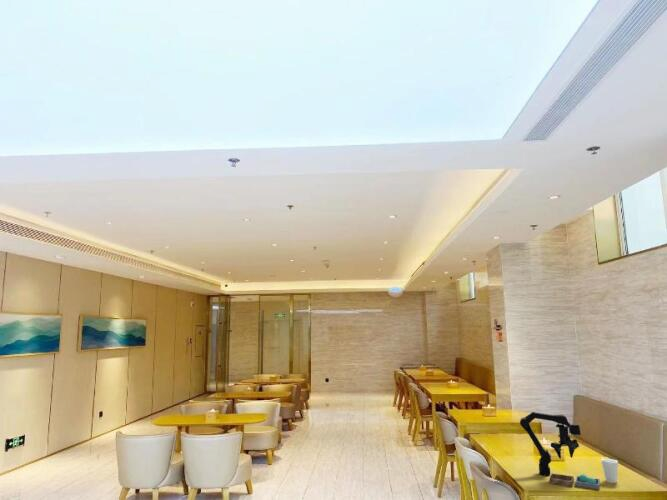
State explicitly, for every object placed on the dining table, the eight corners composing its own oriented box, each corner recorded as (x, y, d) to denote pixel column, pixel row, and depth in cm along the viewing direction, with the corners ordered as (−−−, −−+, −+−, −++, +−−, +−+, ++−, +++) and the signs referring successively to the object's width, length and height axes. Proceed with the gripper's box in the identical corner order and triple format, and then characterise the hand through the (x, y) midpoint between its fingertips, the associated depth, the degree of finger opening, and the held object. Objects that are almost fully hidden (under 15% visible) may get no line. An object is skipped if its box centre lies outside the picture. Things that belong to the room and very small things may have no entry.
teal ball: (587, 486, 295) (586, 478, 295) (587, 484, 299) (587, 476, 300) (596, 487, 292) (595, 479, 293) (596, 485, 296) (595, 477, 297)
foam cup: (614, 479, 311) (612, 458, 314) (622, 483, 302) (620, 462, 304) (600, 479, 311) (598, 458, 313) (608, 483, 302) (606, 462, 304)
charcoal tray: (575, 486, 296) (575, 481, 297) (577, 480, 308) (576, 476, 308) (599, 490, 290) (599, 485, 290) (600, 484, 301) (599, 479, 302)
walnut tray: (549, 483, 302) (549, 478, 303) (552, 478, 313) (551, 473, 314) (572, 487, 296) (572, 481, 296) (573, 481, 307) (573, 476, 307)
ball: (579, 483, 301) (578, 474, 302) (579, 480, 306) (578, 472, 306) (587, 484, 299) (587, 476, 300) (588, 482, 303) (587, 474, 304)
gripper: (560, 437, 311) (562, 462, 308) (583, 435, 316) (586, 460, 313) (549, 433, 322) (551, 457, 319) (571, 432, 326) (573, 455, 324)
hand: (565, 458), depth 318 cm, fingers open, 9 cm apart
